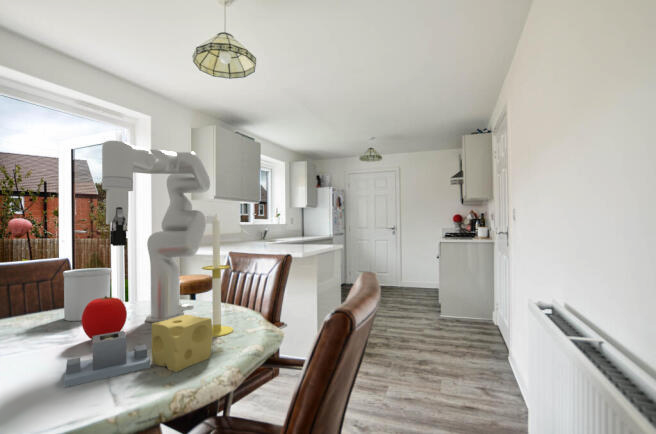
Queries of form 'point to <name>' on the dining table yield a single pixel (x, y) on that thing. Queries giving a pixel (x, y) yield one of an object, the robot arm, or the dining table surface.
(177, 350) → the cheese
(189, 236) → the robot arm
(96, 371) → the stand
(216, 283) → the yellow disc stand
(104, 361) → the brushed steel block
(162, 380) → the dining table surface
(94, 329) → the tomato
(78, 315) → the utensil holder
